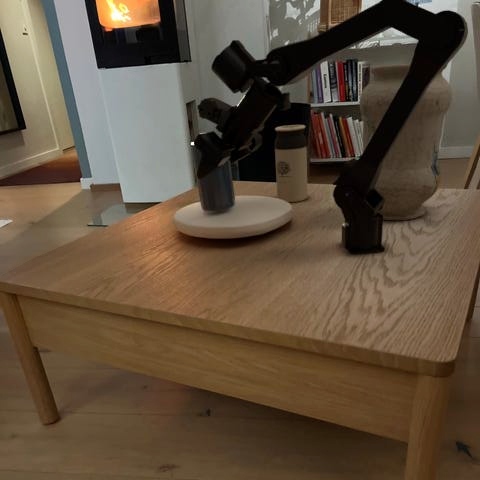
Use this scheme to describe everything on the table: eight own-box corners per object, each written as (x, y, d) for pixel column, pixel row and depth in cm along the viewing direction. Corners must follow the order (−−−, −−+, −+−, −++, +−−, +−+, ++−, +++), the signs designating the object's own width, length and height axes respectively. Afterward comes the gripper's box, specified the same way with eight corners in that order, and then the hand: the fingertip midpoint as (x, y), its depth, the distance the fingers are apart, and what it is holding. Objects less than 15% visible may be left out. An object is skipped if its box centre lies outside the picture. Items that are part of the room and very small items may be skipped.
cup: (242, 202, 100) (234, 137, 94) (220, 212, 95) (211, 144, 89) (216, 200, 104) (207, 137, 98) (194, 209, 99) (183, 144, 93)
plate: (193, 193, 120) (298, 190, 115) (195, 219, 123) (298, 217, 117) (152, 212, 95) (284, 209, 89) (156, 244, 98) (285, 243, 92)
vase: (424, 200, 115) (437, 59, 101) (451, 220, 99) (472, 57, 85) (349, 205, 116) (352, 67, 102) (364, 227, 100) (370, 67, 86)
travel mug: (294, 193, 131) (292, 124, 123) (313, 198, 125) (312, 125, 117) (271, 199, 128) (267, 128, 119) (290, 204, 122) (287, 129, 113)
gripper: (243, 77, 94) (203, 137, 104) (195, 83, 80) (153, 152, 90) (282, 118, 95) (238, 174, 104) (241, 131, 80) (194, 195, 90)
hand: (207, 173), depth 97 cm, fingers closed on cup, 7 cm apart
